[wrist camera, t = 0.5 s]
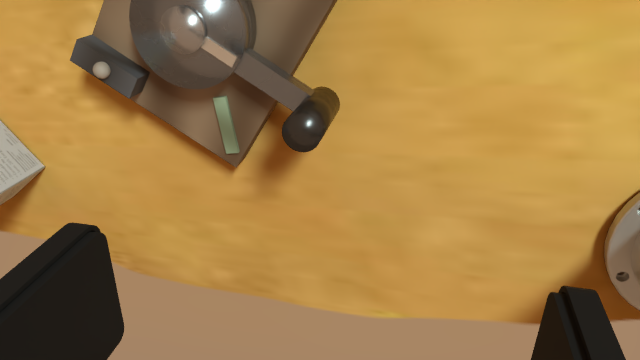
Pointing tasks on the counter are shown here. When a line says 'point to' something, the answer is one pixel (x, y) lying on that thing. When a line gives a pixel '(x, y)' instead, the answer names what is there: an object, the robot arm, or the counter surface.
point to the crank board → (214, 102)
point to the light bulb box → (15, 164)
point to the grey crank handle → (225, 59)
